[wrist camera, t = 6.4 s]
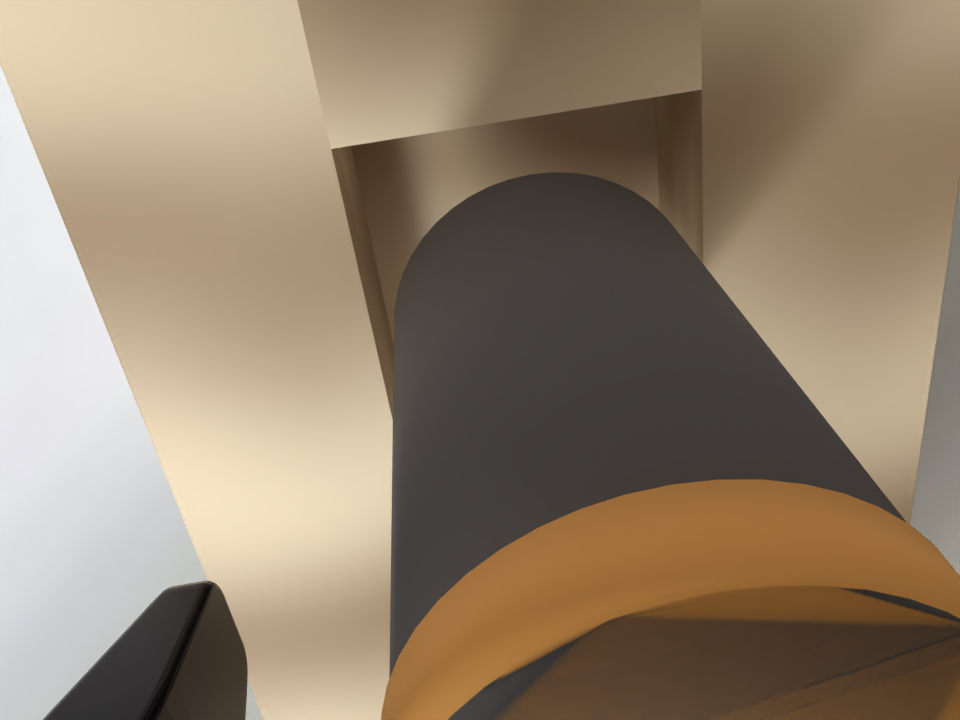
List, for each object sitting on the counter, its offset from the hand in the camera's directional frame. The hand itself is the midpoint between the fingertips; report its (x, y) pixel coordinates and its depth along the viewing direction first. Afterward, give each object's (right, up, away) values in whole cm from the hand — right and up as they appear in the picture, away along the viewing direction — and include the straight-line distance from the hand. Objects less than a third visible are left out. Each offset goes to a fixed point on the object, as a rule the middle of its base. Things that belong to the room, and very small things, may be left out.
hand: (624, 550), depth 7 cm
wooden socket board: (0, -1, +11) cm, 11 cm away
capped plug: (0, +2, +4) cm, 4 cm away
